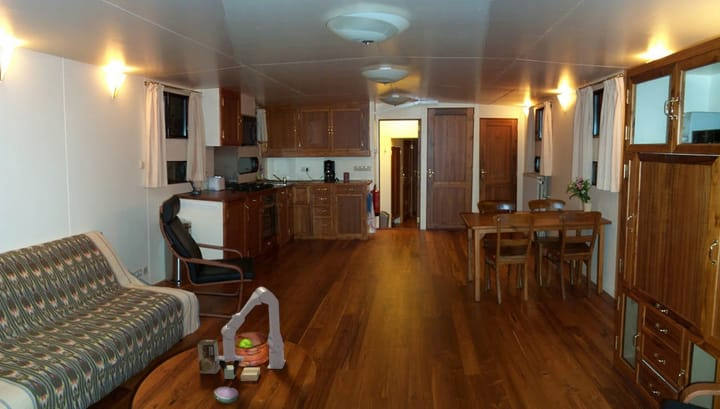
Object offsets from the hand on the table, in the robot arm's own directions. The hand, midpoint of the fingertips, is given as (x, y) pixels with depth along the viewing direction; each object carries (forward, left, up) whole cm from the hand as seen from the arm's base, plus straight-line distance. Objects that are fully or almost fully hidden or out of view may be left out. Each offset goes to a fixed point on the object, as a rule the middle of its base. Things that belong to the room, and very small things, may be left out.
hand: (230, 374), depth 257 cm
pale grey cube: (0, 0, -2) cm, 2 cm away
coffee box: (-6, -13, -2) cm, 14 cm away
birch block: (0, +11, -2) cm, 11 cm away
